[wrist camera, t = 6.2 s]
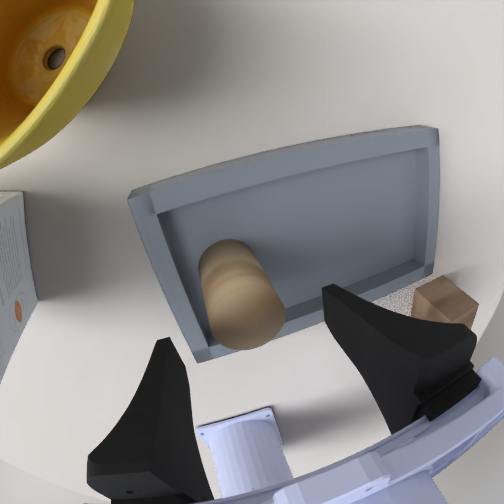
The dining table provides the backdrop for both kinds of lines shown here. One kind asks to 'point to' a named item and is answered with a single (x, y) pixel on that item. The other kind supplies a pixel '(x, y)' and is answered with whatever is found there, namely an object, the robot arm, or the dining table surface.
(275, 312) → the oak peg
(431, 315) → the walnut block
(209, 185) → the parts tray
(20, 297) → the small box
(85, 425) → the dining table surface
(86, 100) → the plant pot
